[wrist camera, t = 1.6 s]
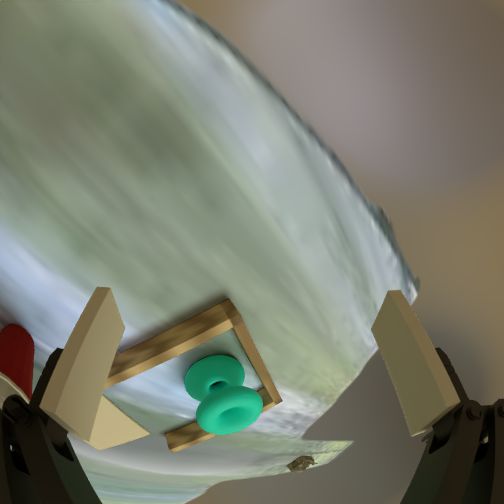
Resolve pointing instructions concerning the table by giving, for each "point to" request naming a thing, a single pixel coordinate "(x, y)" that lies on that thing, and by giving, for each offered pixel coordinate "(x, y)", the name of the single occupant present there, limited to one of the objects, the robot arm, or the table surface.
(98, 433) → the beige mat
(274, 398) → the wooden u-shaped frame
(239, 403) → the donuts
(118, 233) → the table surface
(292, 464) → the rough brown lump
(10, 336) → the plastic cup
